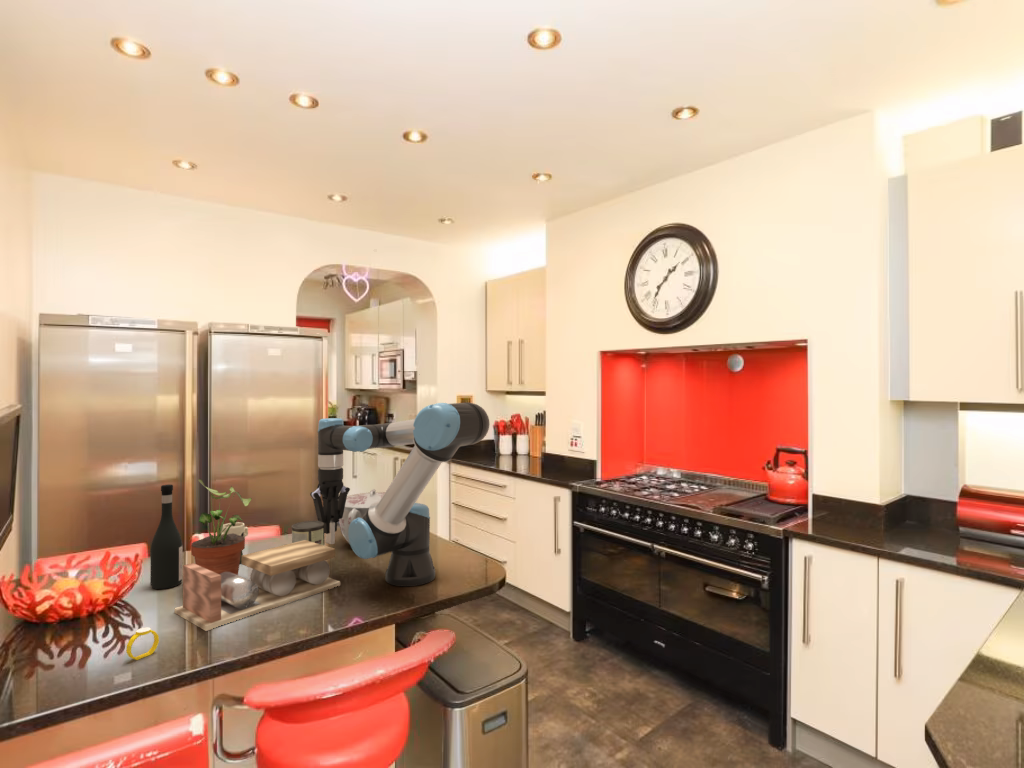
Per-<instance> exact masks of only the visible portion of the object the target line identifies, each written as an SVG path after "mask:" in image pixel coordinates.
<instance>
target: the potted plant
mask: <svg viewBox="0 0 1024 768" xmlns="http://www.w3.org/2000/svg"><path fill="white" fill-rule="evenodd" d="M197 481H198V482H199V483H200V484H201V485H202V486H203V487H204V488H206V489H207V490H208V491H209V493H210V495H209V497H210V498H211V499H215V500H221V499H228V498H230V497H231V495H232V493H234V494H233V495H232V498H234V497H235V495H237V496H238V497H239V499H240V501H241V502H242V503H243V505H244V507H247V506H249V504H250V502H251V501H252V497H250V498H243V497H242V495H241V494H240V492H238V491H236V490H235V488H234V487H233V486H232V485H231V486H230V488H229V491H230V492H229V493H227V491H224V492H219V491H218V490H217V489H212V488H210V487H207V486H206V485H205V483H204V482H203V481H204V480H203V479H201V478H200V479H198V480H197ZM215 495H216V496H215ZM231 502H232V501H230V503H229V506H228V507H230V506H231ZM210 503H211V505H210V506H211V507H213V505H212V501H210ZM218 507H219V508H218V509H216V510H213V508H211V510H210V511H209V512H210V513H207V512H201V513H200V516H199V517H198V523H201V524H202V525H203V526H204V525H206V526H207V529H208V536H205V537H203V538H202V539H199V540H195V541H193V542H192V543H191V546H190V547H191V548H190V549H191V550H190V551H191V556H193V557H194V564H196V565H199V566H201V567H203V568H206V569H208V570H210V571H213V572H215V573H217V574H220V573H223V572H231V573H234V574H236V575H238V576H239V570H240V563H241V562H240V557H241V551H242V552H243V550H244V549H245V546H246V540H245V539H246V537H243V536H239V535H236V534H234V533H232V534H227V533H228V531H229V529H230V527H231V526H235V523H236V522H238V520H239V521H241V522H242V523H244V521H243V519H242V517H241V516H240V515H239V514H234V515H232V516H231V517H230V518H228V520H229V523H231V525H230V526H229V527H228V529H227V530H226V532H225V534H224V535H222V536H221V534H222V532H223V531H224V530H225V529H226V528H225V529H224V530H223V531H222V528H223V525H224V524H225V521H226V518H227V514H228V512H229V510H228V509H227V511H226V513H225V516H222V514H223V512H224V509H221V503H219V506H218ZM214 519H215V520H216V521H217V525H216V524H215V520H214ZM220 519H222V522H221V524H220V521H221V520H220ZM209 523H212V527H213V534H211V531H210V526H209ZM227 524H228V523H227ZM244 524H245V523H244ZM215 525H216V526H215ZM228 525H229V524H228ZM228 525H227V526H228ZM221 531H222V532H221Z"/></svg>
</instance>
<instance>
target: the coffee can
mask: <svg viewBox="0 0 1024 768" xmlns="http://www.w3.org/2000/svg"><path fill="white" fill-rule="evenodd" d="M303 540H307V541H310V542H313V543H317V544H320V545H324V546H325V533H324V523H323V522H320V521H318V520H308V521H307V520H306V521H301V522H297V523H294V524H292V525H291V543H295V542H299V541H303Z"/></svg>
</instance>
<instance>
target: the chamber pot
mask: <svg viewBox="0 0 1024 768" xmlns="http://www.w3.org/2000/svg"><path fill="white" fill-rule="evenodd" d="M385 492H386V491H377V490H376V489H375V488H372V489H371V490H370V492H360V493H356V494H355V493H354V494H351V495H350V494H348V495H347V498H346V503H345V508H344V513H343V518H342V519H339V522H338V524H339V528H340V532H341V535H342V536H343V538H344V539H345V541H346V543H348V544H349V545H350V542H349V537H348V529H349V525H350V523H351V522H352V521H353V520H354V519H357V518H359V517H360V518H361V517H363V516H364V515H365V514H366V512H367V511H368V509H369V507H370V506H371V505H372V504H373V503H375V502H380V500H381V498H382V497H383V495H384V494H385Z"/></svg>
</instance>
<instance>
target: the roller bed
mask: <svg viewBox="0 0 1024 768" xmlns="http://www.w3.org/2000/svg"><path fill="white" fill-rule="evenodd" d="M330 572H331V567H330V564H329V562H328V561H327V560H324V561H321V562H317V563H314V564H310V565H307V566H303V567H300V568H296V569H293V570H289V571H286V572H282V573H279V574H276V575H272V576H270V575H268V574H265V573H263V572H260V571H258V570H255V569H252V570H251V572H250V575H249V576H250V577H249V580H250V581H253V582H255V583H256V584H257V586H258V589H259V593H258V597H257V599H256V600H255V602H254V603H253V604H252V605H251V606H249V607H247V608H244V609H239V608H236V607H234V606H232V605H230V604H228V603H226V602H224V601H222V600H221V575H220V574H217V573H215V572H213V571H210V570H208V569H206V568H203V567H201V566H199V565H196V564H195V562H191V563H187V564H182V605H181V606H177V607H175V608H174V614H176V615H178V616H179V617H181V618H182V619H185V620H186V621H188V622H190V623H191V624H193V625H195V626H196V627H198V628H199V629H202V630H203V631H205V632H207V631H210V630H213V628H214V629H216V627H217V628H219V627H218V626H220V627H222V626H221V625H223V626H225V625H224V624H226V625H228V624H227V623H229V624H231V623H230V622H232V623H234V622H237V621H240V620H243V619H245V618H244V617H246V618H248V617H247V616H249V617H251V616H250V615H252V616H254V615H253V614H255V615H257V614H256V613H258V614H260V613H259V612H261V613H263V612H262V611H264V612H266V611H265V610H267V611H269V610H268V609H270V610H273V609H275V607H276V608H279V607H282V606H284V604H285V605H287V603H288V604H290V603H289V602H291V603H293V602H296V601H299V600H301V599H305V598H309V597H311V596H314V595H317V594H320V593H323V592H325V591H329V590H331V589H334V587H335V588H337V586H338V587H341V581H340V580H337V579H333V578H331V577H329V575H330ZM328 589H329V590H328ZM298 599H299V600H298ZM295 600H296V601H295ZM292 601H293V602H292ZM281 605H282V606H281ZM278 606H279V607H278ZM272 608H273V609H272ZM242 618H243V619H242ZM239 619H240V620H239ZM236 620H237V621H236ZM233 621H234V622H233Z"/></svg>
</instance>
